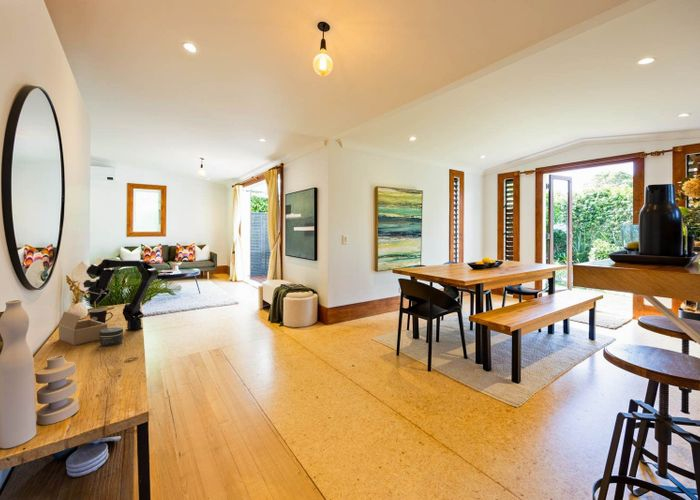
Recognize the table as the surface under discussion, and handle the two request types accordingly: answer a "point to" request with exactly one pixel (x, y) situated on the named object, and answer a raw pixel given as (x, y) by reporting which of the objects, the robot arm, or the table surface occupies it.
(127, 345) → the table surface
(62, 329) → the shipping carton
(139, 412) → the table surface
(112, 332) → the jar
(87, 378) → the table surface
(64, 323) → the carton flap
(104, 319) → the coffee mug
